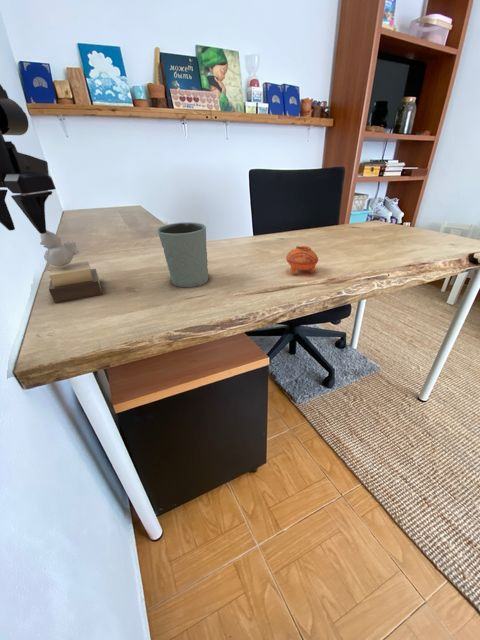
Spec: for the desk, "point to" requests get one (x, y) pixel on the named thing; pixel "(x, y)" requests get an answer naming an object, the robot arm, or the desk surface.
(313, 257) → the pot
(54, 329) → the desk surface
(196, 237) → the grey green cup
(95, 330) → the desk surface
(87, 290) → the memo paper holder
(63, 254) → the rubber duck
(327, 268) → the desk surface
